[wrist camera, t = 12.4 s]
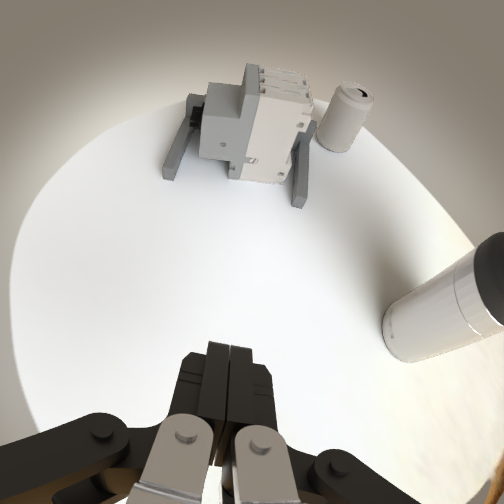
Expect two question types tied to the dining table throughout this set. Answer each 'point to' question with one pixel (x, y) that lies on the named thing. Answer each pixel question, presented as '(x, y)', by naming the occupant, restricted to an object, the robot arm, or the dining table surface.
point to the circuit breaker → (254, 122)
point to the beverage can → (344, 116)
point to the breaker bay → (299, 146)
